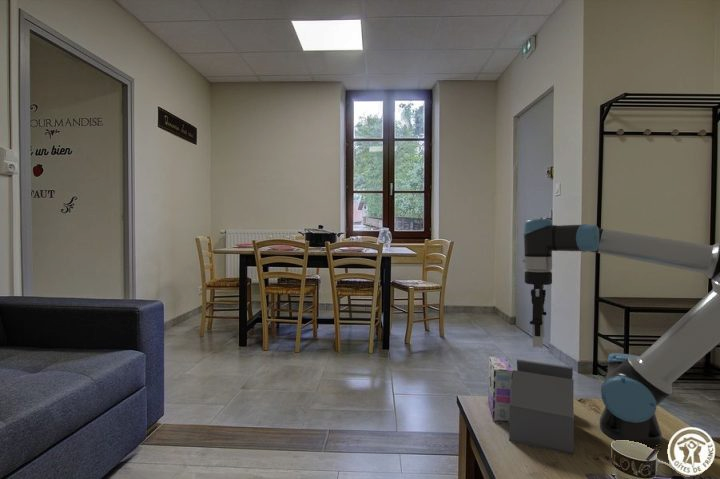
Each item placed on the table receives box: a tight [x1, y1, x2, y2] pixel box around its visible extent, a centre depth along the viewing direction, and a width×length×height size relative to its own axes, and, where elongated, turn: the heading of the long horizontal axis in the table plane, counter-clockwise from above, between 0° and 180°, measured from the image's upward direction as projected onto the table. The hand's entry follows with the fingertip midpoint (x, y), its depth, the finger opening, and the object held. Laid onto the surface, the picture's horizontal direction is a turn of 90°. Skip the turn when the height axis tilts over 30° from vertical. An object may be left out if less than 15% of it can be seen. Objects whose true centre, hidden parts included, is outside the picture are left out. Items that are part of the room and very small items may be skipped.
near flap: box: [510, 369, 575, 418], centre depth 111 cm, size 16×10×1 cm
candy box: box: [487, 356, 514, 424], centre depth 130 cm, size 14×6×16 cm, turn 168°
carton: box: [508, 406, 575, 456], centre depth 118 cm, size 16×20×10 cm
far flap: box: [516, 358, 574, 379], centre depth 125 cm, size 16×10×1 cm
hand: (538, 341), depth 119 cm, fingers open, 13 cm apart
